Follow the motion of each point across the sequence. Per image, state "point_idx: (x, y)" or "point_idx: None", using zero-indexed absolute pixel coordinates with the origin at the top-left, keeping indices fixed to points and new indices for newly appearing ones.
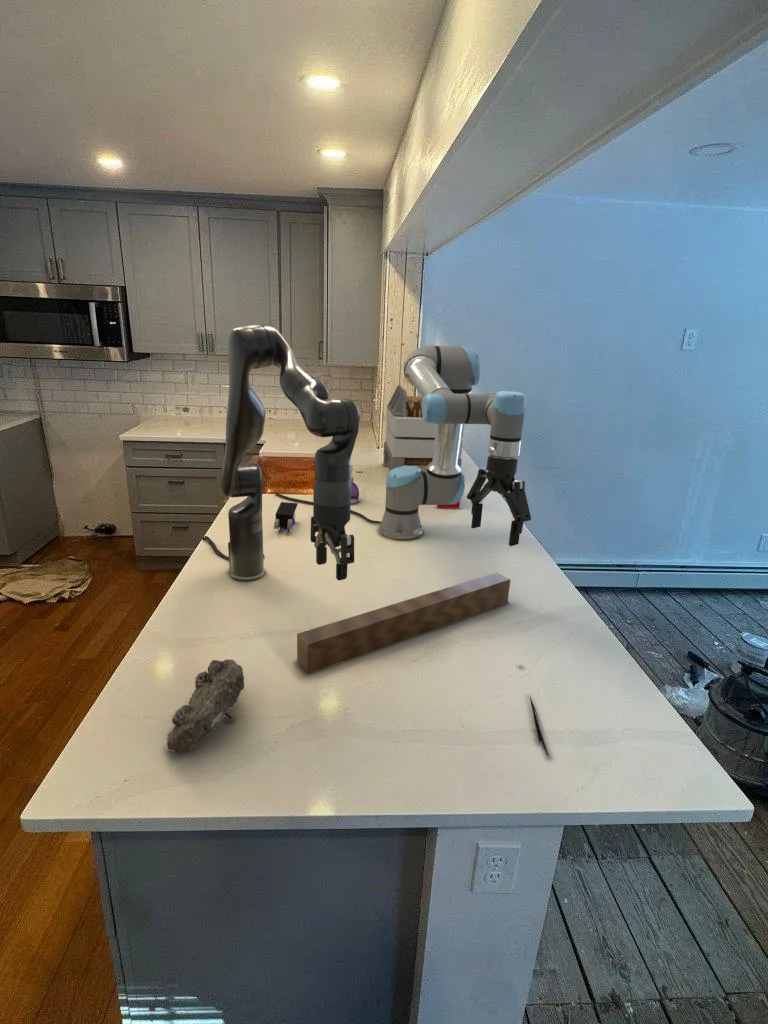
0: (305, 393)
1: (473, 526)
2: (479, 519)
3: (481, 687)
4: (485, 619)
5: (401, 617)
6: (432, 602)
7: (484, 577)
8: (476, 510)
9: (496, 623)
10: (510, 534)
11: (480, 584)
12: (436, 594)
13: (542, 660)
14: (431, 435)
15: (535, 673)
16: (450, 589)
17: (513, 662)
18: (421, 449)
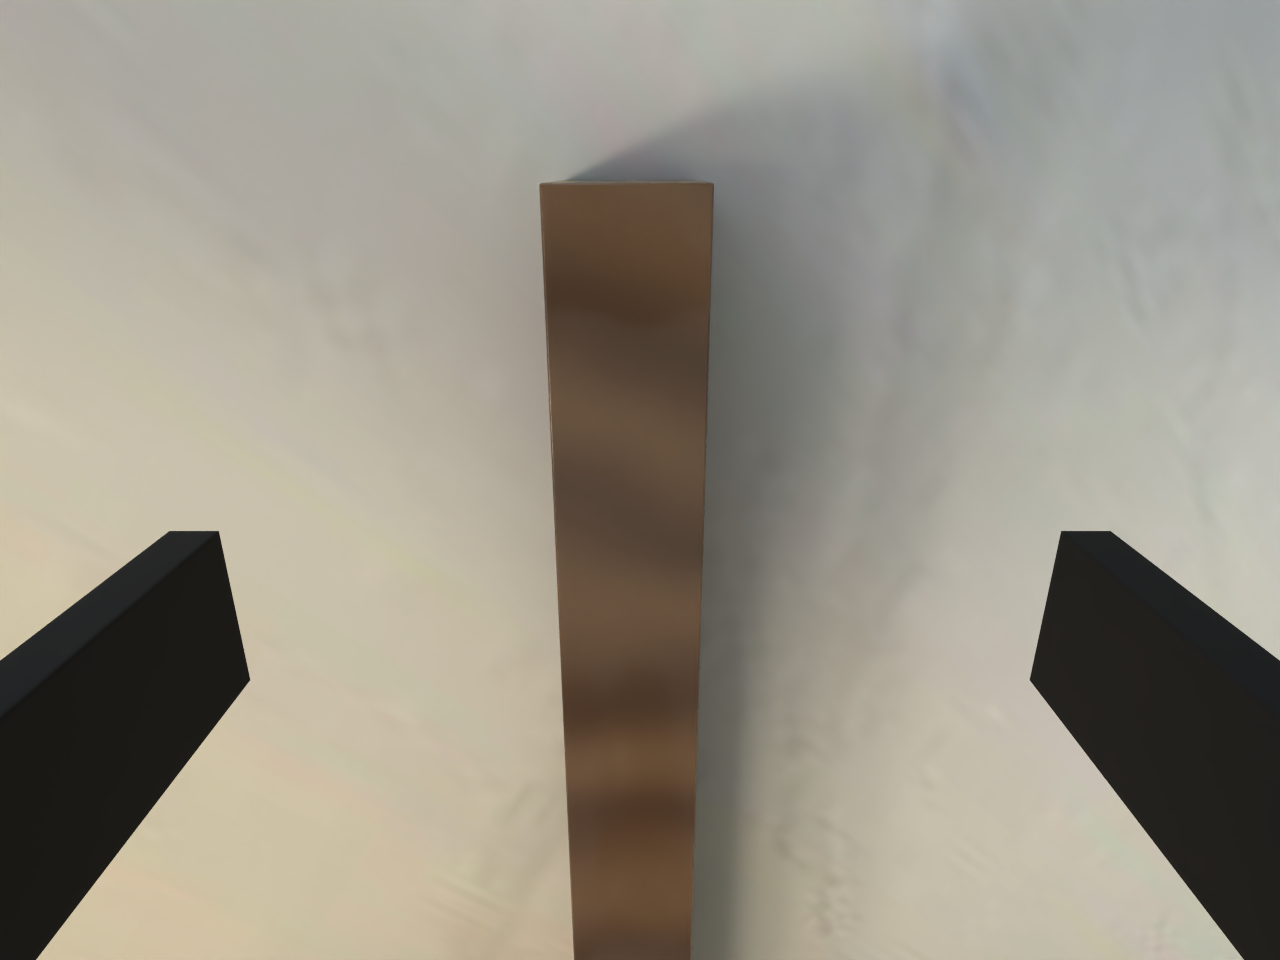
0: None
1: (231, 694)
2: (142, 647)
3: (1127, 839)
4: (762, 464)
5: None
6: (675, 882)
7: (566, 371)
8: (19, 923)
9: (833, 441)
10: (1148, 817)
11: (646, 486)
12: (606, 814)
13: (1229, 498)
14: None
15: (1254, 605)
16: (597, 710)
17: None
18: None
